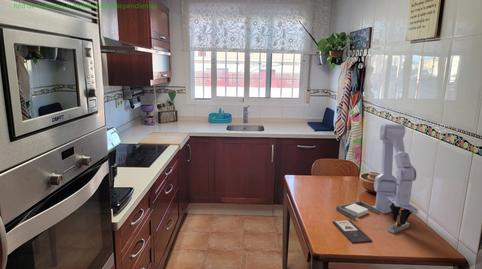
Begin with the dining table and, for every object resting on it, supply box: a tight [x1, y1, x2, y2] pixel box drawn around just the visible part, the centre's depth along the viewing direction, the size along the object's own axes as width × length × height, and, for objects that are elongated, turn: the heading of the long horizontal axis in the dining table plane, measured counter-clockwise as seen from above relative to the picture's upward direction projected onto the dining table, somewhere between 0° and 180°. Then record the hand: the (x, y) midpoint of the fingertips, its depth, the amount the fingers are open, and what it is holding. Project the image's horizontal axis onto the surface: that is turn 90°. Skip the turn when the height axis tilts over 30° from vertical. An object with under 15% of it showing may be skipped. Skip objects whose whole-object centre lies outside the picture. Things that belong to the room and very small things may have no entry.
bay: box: [335, 200, 380, 221], centre depth 164 cm, size 17×12×2 cm
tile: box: [344, 204, 369, 218], centre depth 163 cm, size 8×8×2 cm
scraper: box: [386, 213, 410, 234], centre depth 147 cm, size 12×3×7 cm, turn 123°
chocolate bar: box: [332, 219, 373, 244], centre depth 144 cm, size 9×1×18 cm
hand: (399, 222), depth 147 cm, fingers open, 3 cm apart
